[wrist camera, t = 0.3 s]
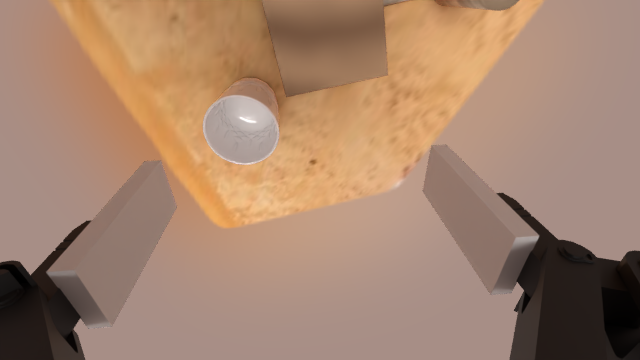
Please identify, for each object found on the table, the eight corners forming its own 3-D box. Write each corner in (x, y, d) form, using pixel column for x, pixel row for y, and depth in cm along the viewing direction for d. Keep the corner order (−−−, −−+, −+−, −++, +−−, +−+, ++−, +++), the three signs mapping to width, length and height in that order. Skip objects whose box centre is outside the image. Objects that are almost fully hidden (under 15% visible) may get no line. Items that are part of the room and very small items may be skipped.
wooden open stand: (262, -32, 32) (251, -42, 23) (353, -53, 32) (378, -71, 23) (287, 71, 38) (286, 97, 29) (364, 54, 38) (387, 75, 29)
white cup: (212, 79, 38) (189, 104, 30) (272, 66, 38) (266, 87, 29) (234, 135, 42) (219, 171, 34) (288, 123, 42) (287, 156, 33)
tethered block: (295, -12, 33) (296, -12, 24) (468, -51, 33) (537, -68, 24) (306, 45, 37) (311, 64, 27) (464, 11, 36) (523, 17, 27)
